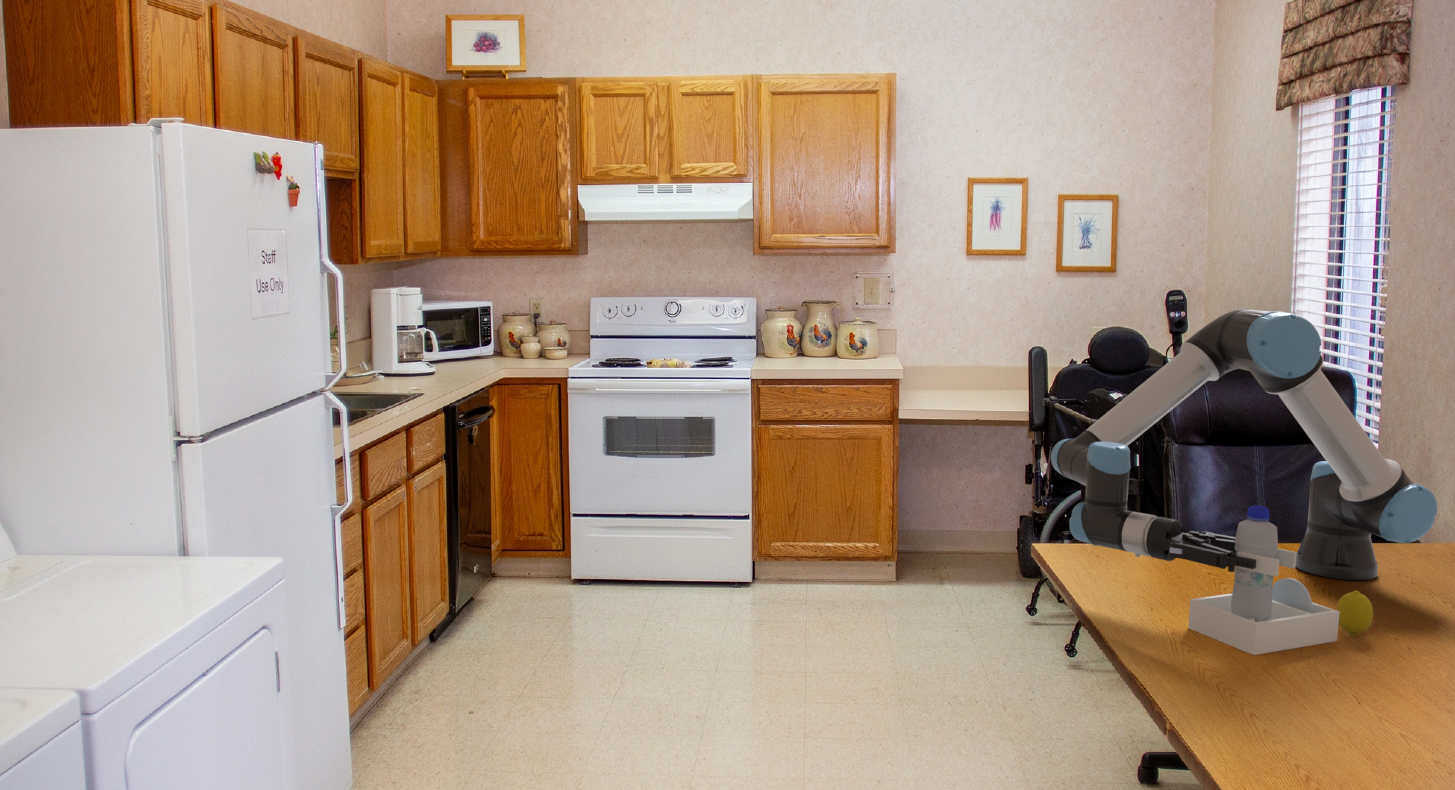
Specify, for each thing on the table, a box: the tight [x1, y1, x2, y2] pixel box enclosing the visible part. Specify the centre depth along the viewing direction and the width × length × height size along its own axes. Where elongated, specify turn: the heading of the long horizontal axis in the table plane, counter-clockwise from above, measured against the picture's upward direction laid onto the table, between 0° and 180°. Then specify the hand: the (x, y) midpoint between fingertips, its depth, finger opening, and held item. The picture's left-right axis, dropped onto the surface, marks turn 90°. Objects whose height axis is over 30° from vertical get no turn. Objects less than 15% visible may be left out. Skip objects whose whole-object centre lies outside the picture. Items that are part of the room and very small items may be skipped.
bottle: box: [1231, 504, 1279, 622], centre depth 190 cm, size 7×7×20 cm
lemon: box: [1335, 590, 1374, 637], centre depth 192 cm, size 6×6×8 cm
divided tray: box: [1188, 577, 1340, 656], centre depth 192 cm, size 19×14×9 cm
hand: (1286, 564), depth 186 cm, fingers closed on bottle, 6 cm apart
